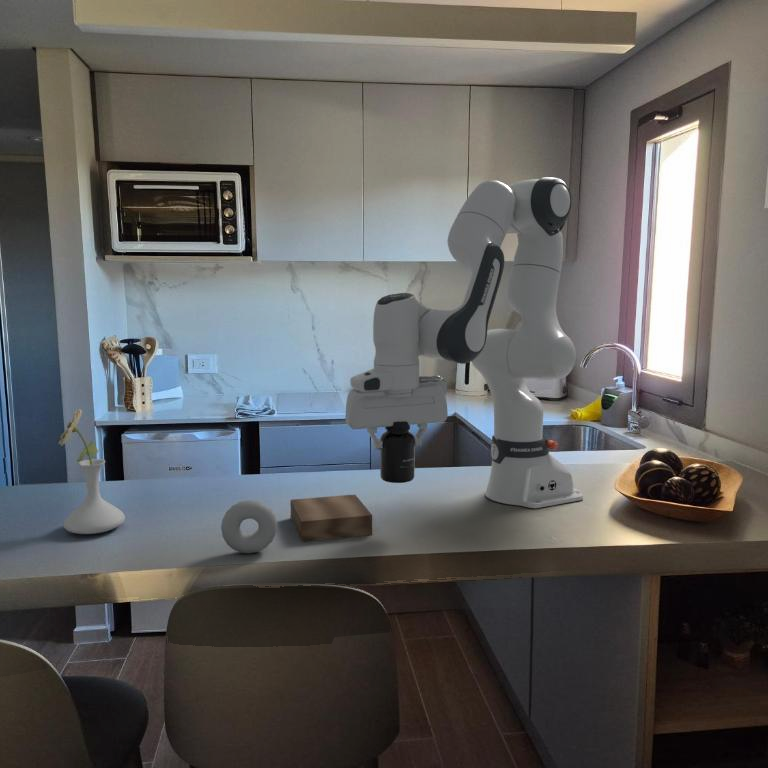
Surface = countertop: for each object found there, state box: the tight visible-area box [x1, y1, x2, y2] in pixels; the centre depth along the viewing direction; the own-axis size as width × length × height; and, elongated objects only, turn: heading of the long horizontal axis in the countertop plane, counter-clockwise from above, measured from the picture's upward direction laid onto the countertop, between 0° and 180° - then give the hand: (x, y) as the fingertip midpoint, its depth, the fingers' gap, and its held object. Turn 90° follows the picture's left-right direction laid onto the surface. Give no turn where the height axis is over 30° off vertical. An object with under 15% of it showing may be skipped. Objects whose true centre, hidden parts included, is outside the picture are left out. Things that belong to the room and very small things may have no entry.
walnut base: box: [290, 494, 373, 542], centre depth 137 cm, size 14×14×4 cm
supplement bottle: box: [379, 421, 416, 484], centre depth 133 cm, size 7×7×12 cm
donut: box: [220, 499, 278, 555], centre depth 122 cm, size 10×4×10 cm, turn 100°
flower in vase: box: [58, 408, 126, 535], centre depth 132 cm, size 13×11×25 cm
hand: (397, 447), depth 133 cm, fingers closed on supplement bottle, 7 cm apart
